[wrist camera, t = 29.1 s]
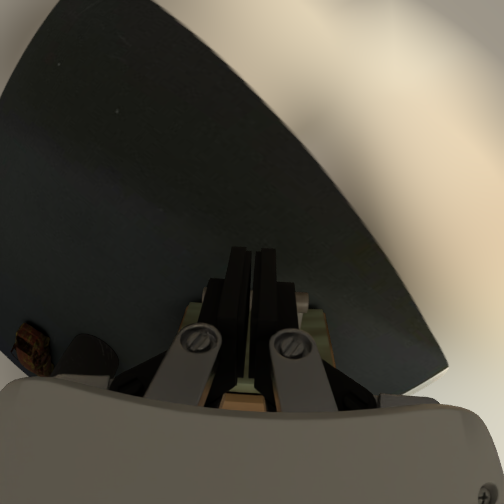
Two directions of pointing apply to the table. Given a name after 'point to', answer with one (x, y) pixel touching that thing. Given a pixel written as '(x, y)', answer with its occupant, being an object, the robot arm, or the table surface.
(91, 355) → the travel mug
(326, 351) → the drawer
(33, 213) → the table surface
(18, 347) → the toy car
